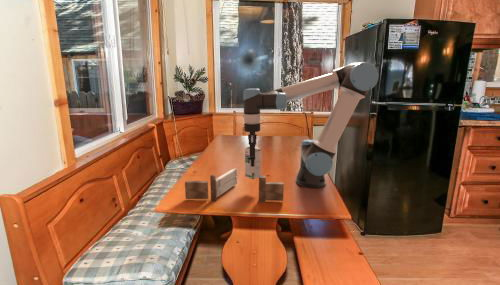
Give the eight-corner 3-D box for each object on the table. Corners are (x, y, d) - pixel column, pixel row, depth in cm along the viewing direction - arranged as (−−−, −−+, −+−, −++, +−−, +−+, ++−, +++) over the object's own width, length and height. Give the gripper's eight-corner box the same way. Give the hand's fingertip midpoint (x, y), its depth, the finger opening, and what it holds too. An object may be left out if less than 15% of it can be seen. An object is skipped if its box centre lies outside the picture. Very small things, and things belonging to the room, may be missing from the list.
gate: (217, 196, 133) (217, 180, 131) (214, 195, 134) (213, 180, 132) (236, 183, 149) (236, 169, 147) (233, 182, 150) (233, 168, 148)
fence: (282, 200, 133) (283, 175, 130) (283, 203, 130) (284, 178, 127) (187, 198, 134) (185, 173, 131) (185, 201, 131) (184, 176, 128)
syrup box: (244, 176, 141) (243, 148, 137) (253, 173, 145) (252, 145, 141) (252, 179, 137) (252, 150, 133) (261, 176, 141) (261, 147, 137)
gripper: (245, 119, 144) (246, 162, 150) (242, 127, 124) (244, 177, 130) (260, 118, 144) (260, 162, 150) (260, 126, 124) (260, 177, 129)
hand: (253, 169), depth 140 cm, fingers closed on syrup box, 8 cm apart
